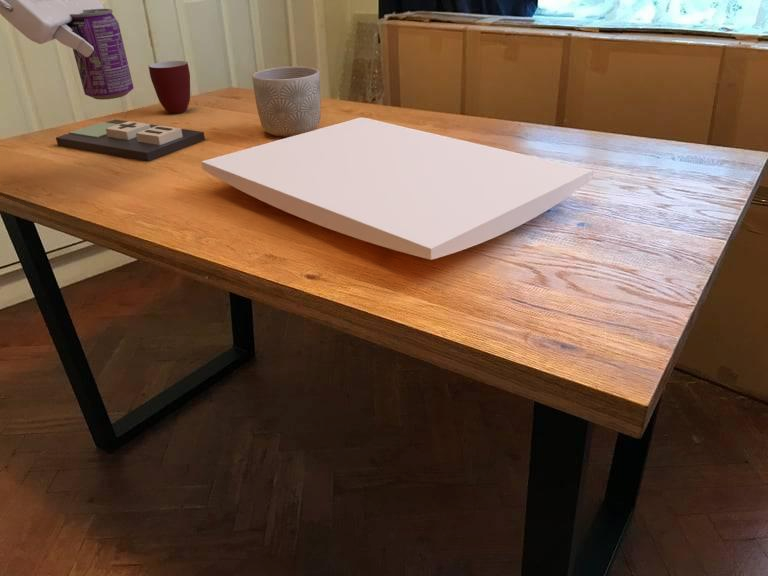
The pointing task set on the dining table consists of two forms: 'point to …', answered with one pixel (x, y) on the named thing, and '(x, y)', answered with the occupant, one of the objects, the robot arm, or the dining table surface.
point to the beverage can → (102, 55)
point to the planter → (288, 100)
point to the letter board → (130, 139)
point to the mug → (171, 85)
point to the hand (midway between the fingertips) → (103, 48)
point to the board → (400, 185)
